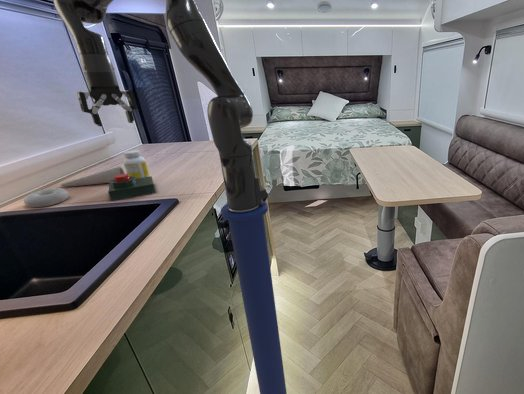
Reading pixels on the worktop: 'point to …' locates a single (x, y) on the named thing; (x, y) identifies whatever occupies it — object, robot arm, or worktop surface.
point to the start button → (121, 177)
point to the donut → (46, 197)
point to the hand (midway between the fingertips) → (115, 124)
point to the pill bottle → (135, 164)
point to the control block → (131, 188)
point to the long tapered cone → (95, 178)
